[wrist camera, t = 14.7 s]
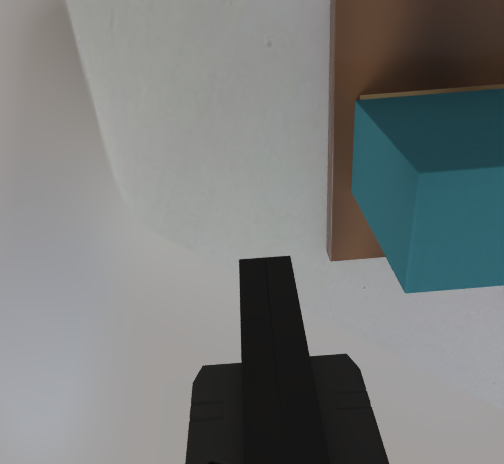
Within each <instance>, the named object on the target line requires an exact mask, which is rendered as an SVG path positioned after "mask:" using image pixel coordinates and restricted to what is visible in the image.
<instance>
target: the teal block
mask: <svg viewBox="0 0 504 464" xmlns="http://www.w3.org/2000/svg"><path fill="white" fill-rule="evenodd" d="M351 192H352V194H353V196H354V198H355V200H356V201H357V203H358V205H359V207H360V209H361V211H362V213H363V215H364V217H365V218H366V220H367V222H368V224H369V226H370V228H371V230H372V232H373V234H374V235H375V237H376V239H377V241H378V243H379V245H380V247H381V249H382V251H383V253H384V254H385V256H386V258H387V260H388V262H389V264H390V266H391V268H392V270H393V271H394V273H395V275H396V277H397V279H398V281H399V283H400V285H401V287H402V288H403V290H404V292H405V293H416V292H429V291H441V290H453V289H465V288H477V287H490V286H502V285H504V88H502V89H489V90H477V91H464V92H452V93H439V94H426V95H414V96H401V97H389V98H376V99H364V100H356V101H355V116H354V140H353V163H352V186H351Z"/></svg>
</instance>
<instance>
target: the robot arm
mask: <svg viewBox="0 0 504 464" xmlns="http://www.w3.org/2000/svg"><path fill="white" fill-rule="evenodd" d="M239 272H240V314H241V358H242V363H232V364H219V365H205V366H202V368H201V370H200V371H199V373H198V375H197V377H196V378H195V380H194V382H193V387H192V398H191V410H190V422H189V431H188V442H187V452H186V463H185V464H389V462H388V458H387V455H386V452H385V449H384V446H383V442H382V439H381V436H380V432H379V429H378V426H377V423H376V419H375V416H374V413H373V410H372V407H371V405H370V400H369V397H368V393H367V391H366V387H365V384H364V381H363V377H362V374H361V371H360V369H359V367H358V366H357V365H356V364H355V363H354V362H353V360H352V359H351V358H350V357H349V356H348V355H347V354H336V355H322V356H309V351H308V346H307V340H306V335H305V330H304V325H303V320H302V315H301V309H300V304H299V299H298V294H297V289H296V283H295V278H294V273H293V268H292V263H291V257H290V256H280V257H266V258H253V259H240V260H239Z"/></svg>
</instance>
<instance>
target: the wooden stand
mask: <svg viewBox="0 0 504 464" xmlns="http://www.w3.org/2000/svg"><path fill="white" fill-rule="evenodd" d="M502 88H504V0H331V8H330V70H329V132H328V194H327V253H328V256H329V259H330V261H341V260H353V259H366V258H378V257H386V256H385V254H384V253H383V251H382V249H381V247H380V245H379V243H378V241H377V239H376V237H375V235H374V234H373V232H372V230H371V228H370V226H369V224H368V222H367V220H366V218H365V217H364V215H363V213H362V211H361V209H360V207H359V205H358V203H357V201H356V200H355V198H354V196H353V194H352V192H351V186H352V163H353V140H354V116H355V101H356V100H364V99H376V98H389V97H401V96H414V95H426V94H439V93H452V92H464V91H477V90H489V89H502Z"/></svg>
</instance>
